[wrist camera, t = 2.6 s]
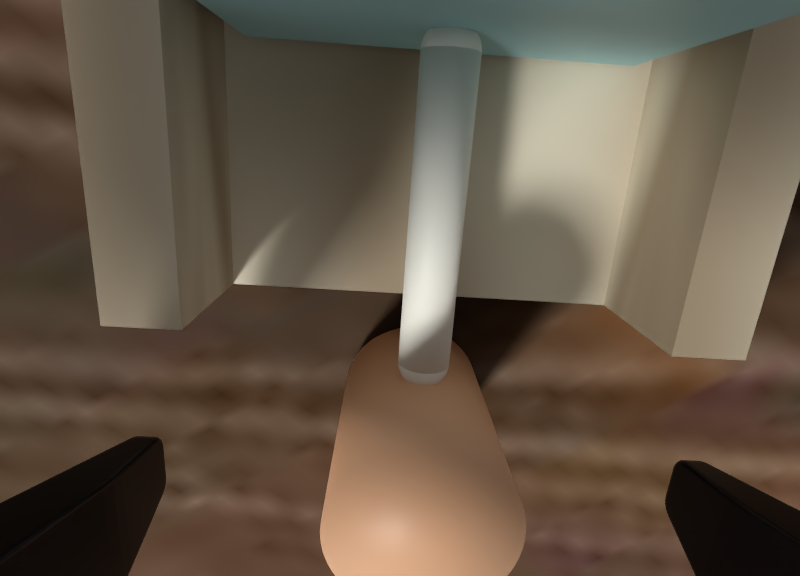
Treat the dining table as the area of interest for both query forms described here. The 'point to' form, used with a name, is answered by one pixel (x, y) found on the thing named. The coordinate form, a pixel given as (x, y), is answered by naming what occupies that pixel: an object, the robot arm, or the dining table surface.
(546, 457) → the dining table surface
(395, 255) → the lane
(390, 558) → the lever with tan knob
